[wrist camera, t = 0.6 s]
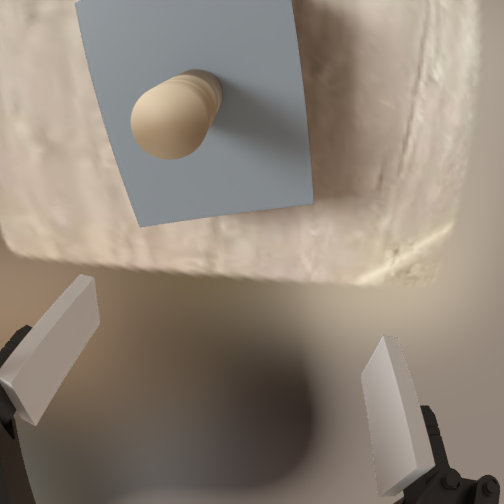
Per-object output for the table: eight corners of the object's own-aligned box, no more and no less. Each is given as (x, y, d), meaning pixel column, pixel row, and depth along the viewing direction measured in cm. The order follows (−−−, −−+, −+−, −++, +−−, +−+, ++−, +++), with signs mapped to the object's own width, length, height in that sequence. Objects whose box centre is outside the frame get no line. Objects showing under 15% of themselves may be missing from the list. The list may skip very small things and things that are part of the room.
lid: (82, 3, 18) (8, 2, 10) (280, -47, 17) (295, -91, 9) (144, 219, 32) (110, 290, 24) (311, 196, 31) (332, 267, 22)
